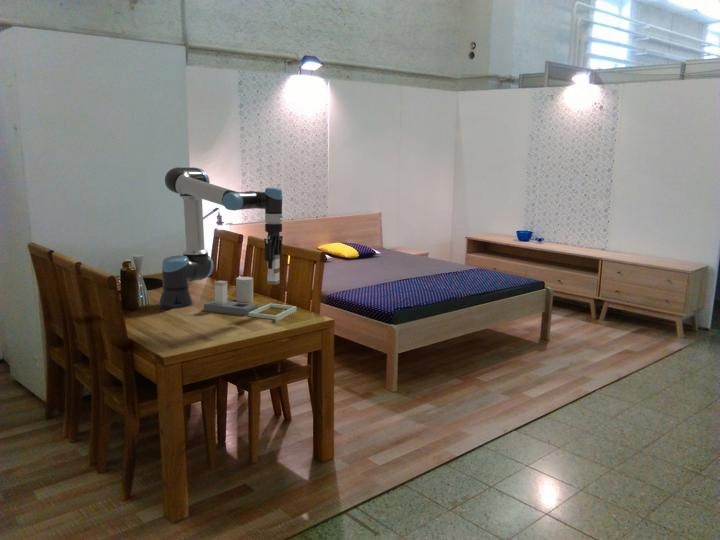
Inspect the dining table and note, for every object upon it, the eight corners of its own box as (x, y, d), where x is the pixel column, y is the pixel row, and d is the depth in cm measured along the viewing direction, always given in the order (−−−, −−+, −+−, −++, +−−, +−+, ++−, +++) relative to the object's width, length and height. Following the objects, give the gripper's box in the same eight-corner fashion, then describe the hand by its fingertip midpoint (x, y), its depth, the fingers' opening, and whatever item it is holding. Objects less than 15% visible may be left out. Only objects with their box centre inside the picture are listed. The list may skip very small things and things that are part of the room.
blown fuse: (267, 284, 273) (267, 255, 271) (271, 282, 277) (271, 254, 274) (275, 284, 271) (275, 256, 269) (279, 283, 275) (279, 254, 273)
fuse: (214, 309, 278) (214, 282, 276) (219, 307, 282) (219, 280, 280) (222, 310, 277) (222, 282, 275) (227, 308, 281) (227, 281, 279)
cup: (241, 304, 294) (241, 280, 292) (233, 301, 300) (233, 277, 298) (256, 302, 299) (256, 278, 297) (247, 299, 305) (247, 276, 303)
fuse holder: (204, 312, 277) (203, 303, 276) (216, 307, 286) (216, 299, 286) (246, 317, 270) (246, 309, 269) (257, 312, 279) (257, 304, 279)
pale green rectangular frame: (248, 318, 270) (248, 312, 269) (269, 308, 288) (269, 303, 288) (276, 321, 265) (276, 316, 265) (296, 311, 284) (296, 306, 283)
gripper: (272, 225, 260) (271, 278, 264) (289, 222, 276) (289, 272, 280) (256, 224, 263) (256, 277, 267) (275, 221, 279) (274, 271, 283)
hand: (273, 274), depth 273 cm, fingers closed on blown fuse, 4 cm apart
